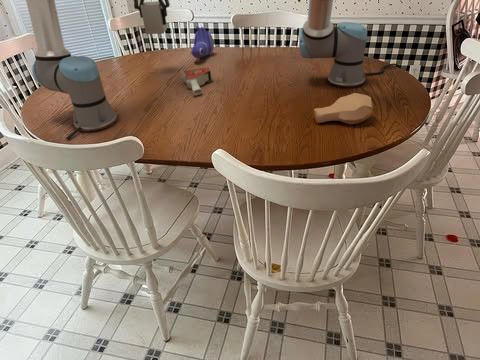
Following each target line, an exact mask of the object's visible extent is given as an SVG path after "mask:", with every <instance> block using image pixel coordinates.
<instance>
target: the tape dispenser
mask: <svg viewBox="0 0 480 360" xmlns="http://www.w3.org/2000/svg"><path fill="white" fill-rule="evenodd" d="M197 71H200V72H197ZM195 72H196V73H195ZM180 73H181V78H182V81H184V84H186V87H188V89H191V90H192V95H193V96H199V95H201V94H202V93H203V89H202V88H201V86H203V85H205V83H210V82H212V72H211V69H210V68H209V67H208V66H207V67H201V68H194V69H188V70H181V72H180Z"/></svg>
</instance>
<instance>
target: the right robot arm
mask: <svg viewBox="0 0 480 360" xmlns="http://www.w3.org/2000/svg"><path fill="white" fill-rule="evenodd" d="M297 1H298V3H299V2H300V3H301V0H297ZM333 3H334V0H308V11H307V20H306V21H304V23H303V26H302V27H300V28H299V30H298V37H299V38H298V39H299V53H300V56H301V57H302V58H303V59H333V64H332V67H331V69H330V71H329V74H328V76H327V83H329V84H330V85H331V86H334V87H337V88H345V89H352V88H359V87H361V86H363V85H364V84H365V81H366V76H372V75H373V76H375V75H380V74H383V73H384V72H385V71H384V70H385V68H388V67H391V66H395V67H397V68H400V67H401V66H400V65H399V64H398V63H388V64H386V65H383V66H382V67H381V70H380V71H376V72H365V70H364V58H365V52H366V45H367V41H368V29H367V27H366V26H365V25H363V24H361V23H358V22H352V21H340V22H338V23H337V26H334V24H333V22H332V21H331V17H332V12H333Z"/></svg>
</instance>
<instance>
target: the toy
mask: <svg viewBox="0 0 480 360" xmlns="http://www.w3.org/2000/svg"><path fill="white" fill-rule="evenodd" d="M194 30H197V31H196V32H195V35H194V39H193V45H192V48H191V49H190V54H191V55H192V56H193V57H194V58H195V59H196V60H197V62H198V63H199V62H200V58H203V57H206V56H208V55H210V54H211V52H212V51H214V49H215V41H214V38H213V36H212V34H211V32H210V31H209V30H206V29H205V28H204V27H203V26H201V27H199V26H196V27H194Z"/></svg>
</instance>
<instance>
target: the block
mask: <svg viewBox="0 0 480 360" xmlns="http://www.w3.org/2000/svg"><path fill="white" fill-rule="evenodd" d="M161 9H162V6H161V4H160V3H159V1H158V0H157V1H144V3H143V4H142V5H141V11H142V17H143V18H142V20H143V21H142V22H143V27H144V31H145V35H157V34H158V35H160V34H165V33H166V31H167V29H168V26H167V24H166V25H164V23H163V17H162V11H161Z"/></svg>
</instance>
